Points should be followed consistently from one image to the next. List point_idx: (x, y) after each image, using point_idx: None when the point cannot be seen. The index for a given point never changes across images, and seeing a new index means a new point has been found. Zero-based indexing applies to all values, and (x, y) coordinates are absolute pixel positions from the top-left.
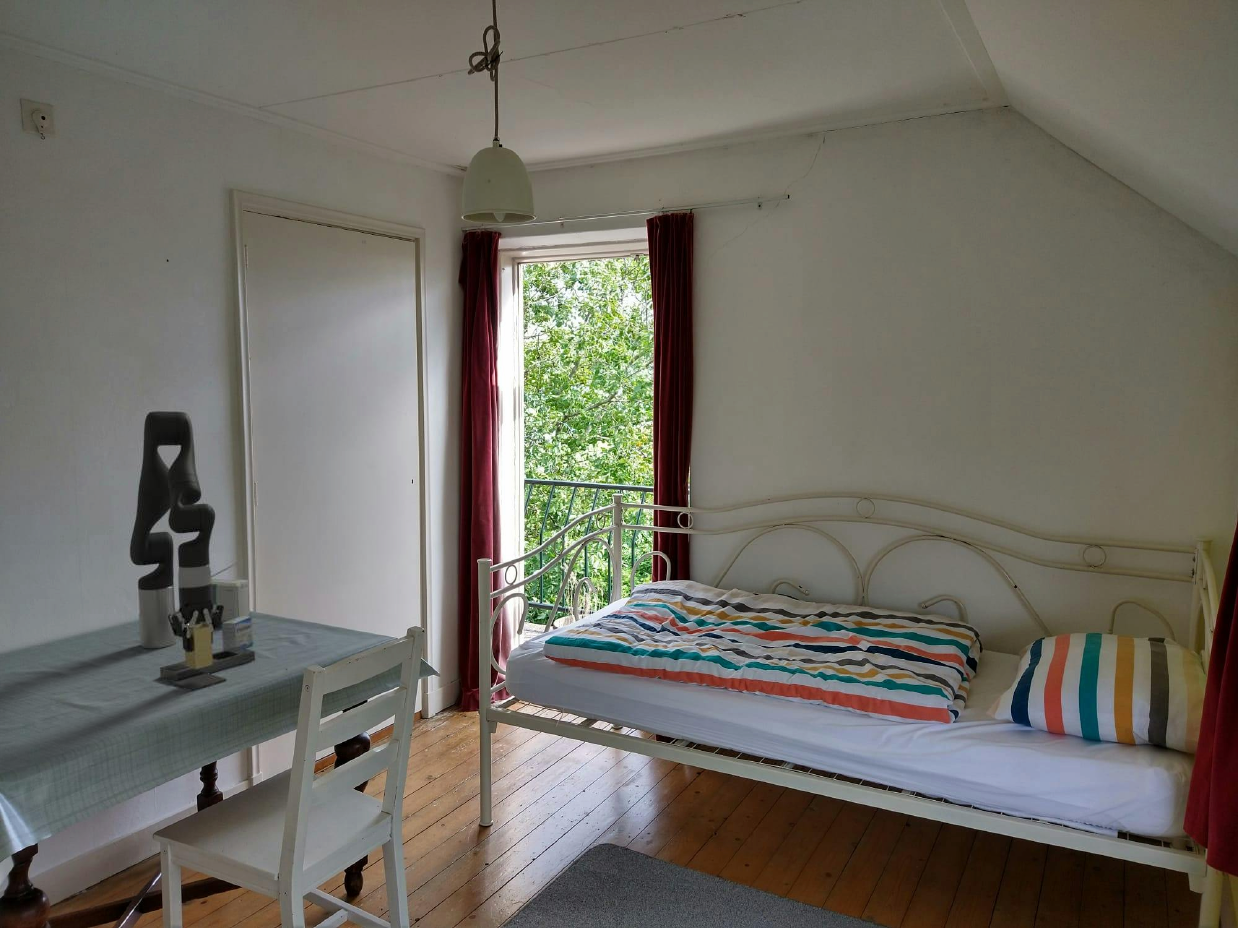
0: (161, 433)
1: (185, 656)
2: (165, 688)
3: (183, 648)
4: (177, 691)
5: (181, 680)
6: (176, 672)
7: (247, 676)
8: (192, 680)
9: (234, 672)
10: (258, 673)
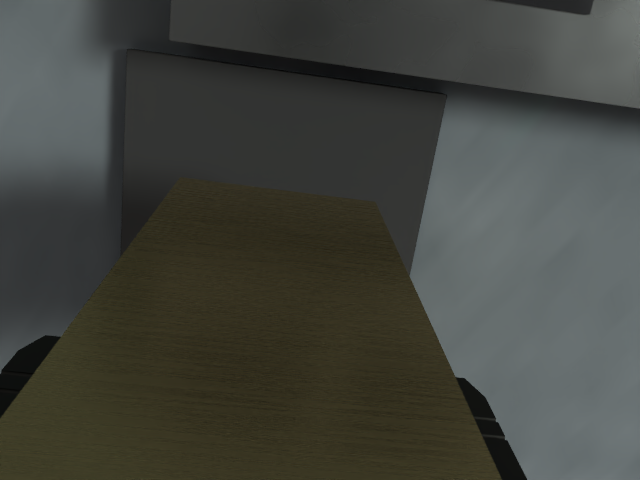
0: None
1: (156, 211)
2: (36, 83)
3: (29, 347)
4: (52, 239)
5: (204, 70)
6: (175, 20)
7: (517, 405)
8: (249, 163)
9: (565, 254)
10: (594, 419)
